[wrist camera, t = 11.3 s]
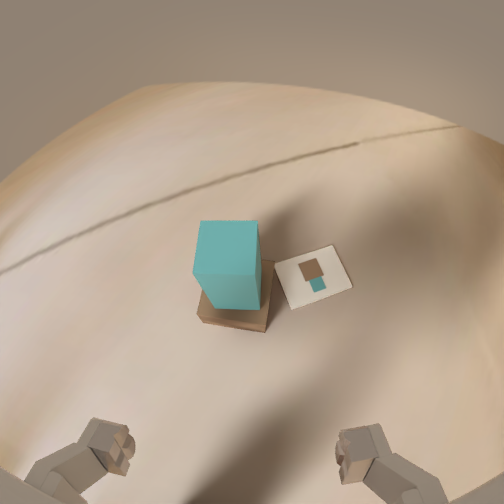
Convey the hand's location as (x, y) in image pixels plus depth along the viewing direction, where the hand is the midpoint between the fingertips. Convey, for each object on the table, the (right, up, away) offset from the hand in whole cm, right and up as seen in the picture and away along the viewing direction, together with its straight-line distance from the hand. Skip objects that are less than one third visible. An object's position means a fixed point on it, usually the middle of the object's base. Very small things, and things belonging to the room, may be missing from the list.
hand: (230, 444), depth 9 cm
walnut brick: (-1, +2, +24) cm, 24 cm away
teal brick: (-1, +3, +21) cm, 21 cm away
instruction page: (+8, +4, +25) cm, 27 cm away
